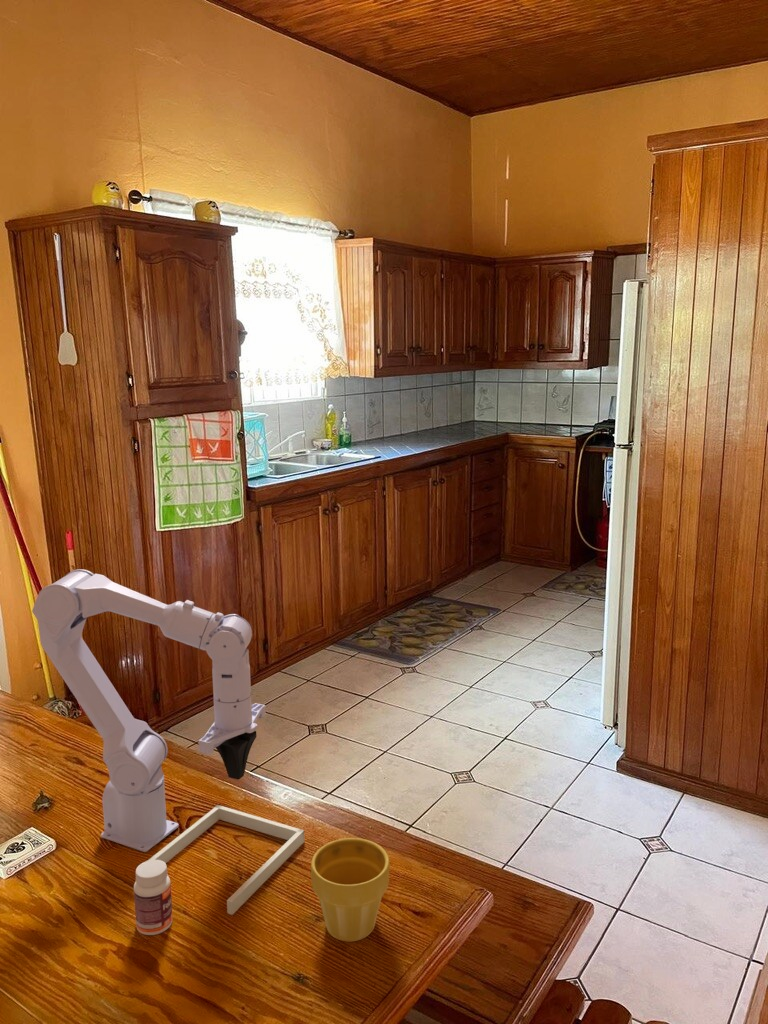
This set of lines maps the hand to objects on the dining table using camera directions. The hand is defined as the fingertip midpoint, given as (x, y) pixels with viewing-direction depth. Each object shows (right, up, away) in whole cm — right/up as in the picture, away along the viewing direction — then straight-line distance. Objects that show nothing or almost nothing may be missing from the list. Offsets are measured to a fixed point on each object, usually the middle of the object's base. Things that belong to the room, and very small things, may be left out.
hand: (236, 776), depth 125 cm
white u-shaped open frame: (-1, -11, -4) cm, 12 cm away
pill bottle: (-8, -14, -18) cm, 24 cm away
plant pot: (+19, -14, -18) cm, 30 cm away
